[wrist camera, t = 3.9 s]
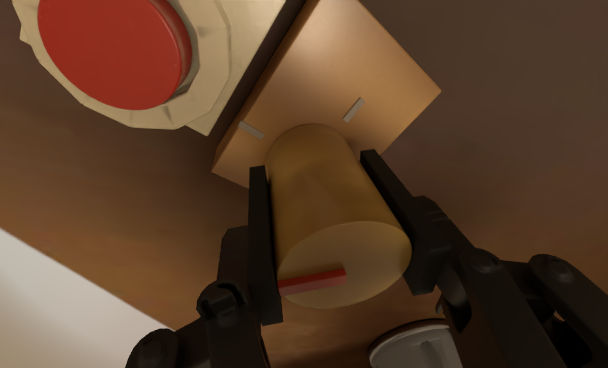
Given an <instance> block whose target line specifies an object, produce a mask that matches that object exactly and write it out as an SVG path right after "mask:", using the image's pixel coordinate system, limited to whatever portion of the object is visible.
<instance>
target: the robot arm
mask: <svg viewBox="0 0 608 368" xmlns="http://www.w3.org/2000/svg"><path fill="white" fill-rule="evenodd" d="M360 163H361V165H362V166H363V168H364V170H365V171H366V173H367V174H368V176H369V177H370V179H371V180H372V182H373V184H374V185H375V187H376V188H377V190H378V191H379V193H380V194H381V196H382V197H383V199H384V201H385V202H386V204H387V205H388V207H389V208H390V210H391V211H392V213H393V215H394V216H395V218H396V219H397V221H398V222H399V224H400V225H401V227H402V229H403V230H404V232H405V233H406V235H407V236H408V238H409V240H410V242H411V246H412V256H411V260H410V263H409V265H408V267H407V269H406V270H405V272H404V273H403V274H402V275H403V277H404V279H405V281H406V282H407V284H408V286H409V288H410V290H411V292H412V294H413V295H414V296H415V295H420V294H425V293H430V292H433V289H434V287H435V285H436V284H437V286H438V287H439V289H440V290H441V292H442V294H441V296H440V298H439V300H438V302H437V304H436V307H435V310H436V313H437V314H439V312H440V311H441V309H442V308H443V314H445V317H446V320H447V321H446V320H426V321H421V322H416V323H412V324H409V325H406V326H403V327H400V328H398V329H396V330H393V331H391V332H389V333H387V334H386V335H384V336H382V337H381V338H379V339H378V340H377V341H376V342H374V343H373V344H372V346H371V347H370V348H369V350H368V357H369V360H370V363H371V365H372V368H608V295H607V294H606V293H605V292H603V291H602V290H601V289H600V288H599V287H598V286H596V285H595V284H594V283H593V282H592V281H591V280H589V279H588V278H587V277H586V276H585V275H584V274H582V273H581V272H580V271H579V270H578V269H576V268H575V267H574V266H572V265H571V264H570V263H568V262H567V261H565V260H562V259H560V258H558V257H556V256H552V255H548V254H537V255H535V256H533V257H532V258H531V259H530V260H529V262H528V263H523V262H513V261H503V260H499V258H497V257H496V256H495V255H493V254H492V253H490V252H488V251H485V250H483V249H479V248H475V247H474V246H473V245H472V244H471V243H470V242H469V240H468V239H467V238H466V237H465V236H464V235H463V234H462V233H461V231H460V230H459V229H458V228H457V227H456V226H455V225H454V223H453V222H452V221H451V220H449V219H448V217H447V216H446V214H445V213H444V212H442V210H441V209H440V208H439V207H438V205H437V204H436V203H435V202H434V201H432V200H430V199H429V198H427V197H425V196H418V197H412V195H411V194H410V193H409V192H408V190H407V189H406V188H405V187H404V185H403V184H402V183H401V182H400V180H399V179H398V178H397V177H396V175H395V174H394V173H393V172H392V170H391V169H390V168H389V167H388V165H387V164H386V163H385V162H384V160H383V159H382V158H381V157H380V155H379V154H378V153H377V152H376V150H375V149H370V150H363V151H360ZM196 310H197V311H198V313H199V314H200V316H201V317H200V318H199V319H197V320H195V321H194V322H192V323H190V324H188V325H186V326H184V327H182V328H181V329H179V330H177V331H175V332H174V331H172V330H170V329H158V330H155V331H152V332H150V333H149V334H147V335H146V336H145V337H144V338H142V339H141V340H140V341H139V342H138V343H137V345H136V346H135V347H134V348H133V350H132V352H131V354H130V356H129V358H128V361H127V364H126V367H125V368H271V366H270V362H269V359H268V355H267V352H266V348H265V345H264V341H263V338H262V336H261V323H262V326H266V325H271V324H276V323H281V322H283V315H282V304H281V297H280V295H279V291H278V286H277V283H276V275H275V262H274V250H273V237H272V224H271V212H270V199H269V186H268V180H267V175H266V170H265V165H262V166H255V167H249V211H248V226H242V227H236V228H230V229H228V230H227V232H226V233H225V235H224V237H223V238H222V243H221V252H220V261H219V267H218V274H217V280H216V281H215V282H213V283H211V284H209V285H208V286H207V287H206V288H205V289H204V290H203V291H202V292H201V294H200V296H199V298H198V300H197V307H196ZM556 312H557V313H558V314H559V315H560V316H561V317H562V318H563V319H564V320H565V321H561V320H559V319H558V318H557V317H555V316H554V314H555V313H556Z"/></svg>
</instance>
